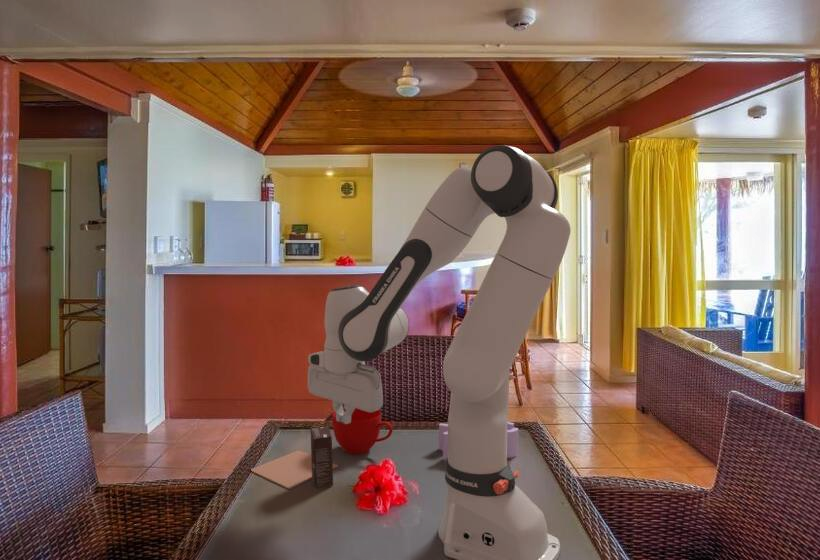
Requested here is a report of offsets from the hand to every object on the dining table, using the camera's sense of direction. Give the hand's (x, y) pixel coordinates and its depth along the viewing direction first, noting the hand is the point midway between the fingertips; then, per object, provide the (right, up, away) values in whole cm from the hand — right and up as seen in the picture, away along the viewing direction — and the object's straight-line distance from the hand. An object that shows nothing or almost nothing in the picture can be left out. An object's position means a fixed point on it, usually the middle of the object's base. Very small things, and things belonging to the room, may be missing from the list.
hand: (343, 422), depth 116 cm
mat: (-14, -15, +13) cm, 24 cm away
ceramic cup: (+2, -14, +24) cm, 28 cm away
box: (-6, -16, +6) cm, 18 cm away
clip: (+33, -15, +23) cm, 42 cm away
